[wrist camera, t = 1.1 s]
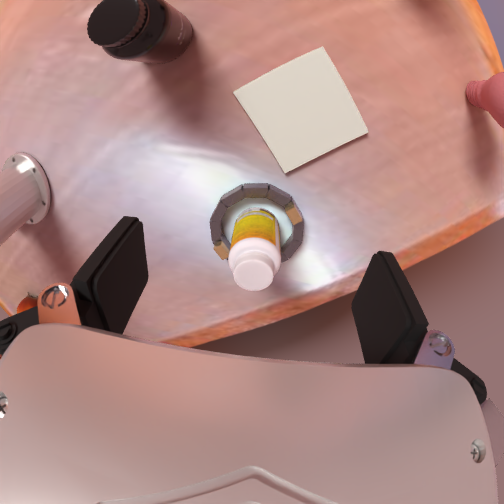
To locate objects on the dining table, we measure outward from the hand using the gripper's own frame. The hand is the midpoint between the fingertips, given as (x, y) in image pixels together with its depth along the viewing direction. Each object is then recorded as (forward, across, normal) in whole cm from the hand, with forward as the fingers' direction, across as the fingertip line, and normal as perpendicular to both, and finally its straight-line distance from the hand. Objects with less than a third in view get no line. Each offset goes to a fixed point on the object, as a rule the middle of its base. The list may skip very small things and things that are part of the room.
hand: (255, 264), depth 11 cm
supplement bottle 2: (+23, 0, +11) cm, 25 cm away
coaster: (+23, -4, -4) cm, 23 cm away
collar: (+23, 0, +11) cm, 25 cm away
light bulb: (+23, -25, -14) cm, 37 cm away
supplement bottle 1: (+23, +13, -12) cm, 29 cm away
